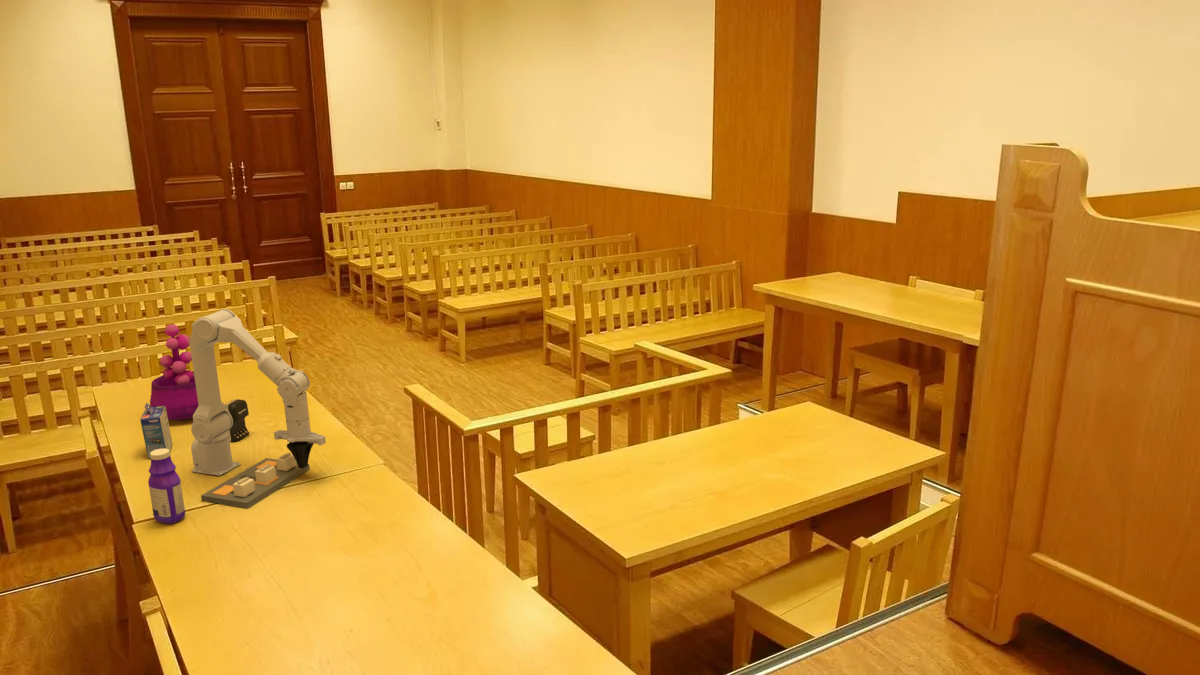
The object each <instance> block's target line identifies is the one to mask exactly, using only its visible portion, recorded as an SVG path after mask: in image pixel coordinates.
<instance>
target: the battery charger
mask: <svg viewBox="0 0 1200 675" xmlns="http://www.w3.org/2000/svg"><path fill="white" fill-rule="evenodd" d="M225 404H226V405H227V406H228V410H229V413H230V415H231V416H232V419H233V425H232V427H231V429H229V431H230V434H229V441H230V442H238V441H241V440H243V439H244V438H246V437H247V436H249V434H250V432H249V430H248V428H247V424H246V420H245V419H246V418H247V417H248V416H249V414H250V413H249V408H248V403H247V401H246V400H245V399H239V398H235V399H233V400H230V401H228V402H227V403H225Z"/></svg>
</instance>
